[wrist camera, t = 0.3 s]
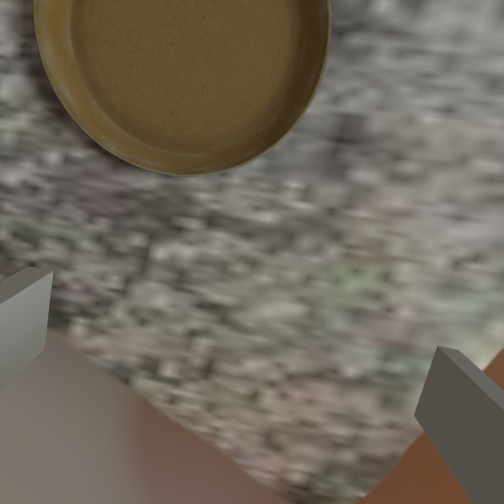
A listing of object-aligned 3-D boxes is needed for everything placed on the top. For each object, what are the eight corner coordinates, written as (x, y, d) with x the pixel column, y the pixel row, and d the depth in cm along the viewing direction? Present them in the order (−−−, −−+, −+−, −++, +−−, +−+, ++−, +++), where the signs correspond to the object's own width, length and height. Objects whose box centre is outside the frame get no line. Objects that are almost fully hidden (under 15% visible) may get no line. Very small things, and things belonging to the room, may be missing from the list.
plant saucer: (372, -34, 37) (385, -52, 33) (254, 216, 41) (255, 221, 38) (109, -181, 34) (95, -216, 31) (14, 105, 38) (-7, 101, 35)
